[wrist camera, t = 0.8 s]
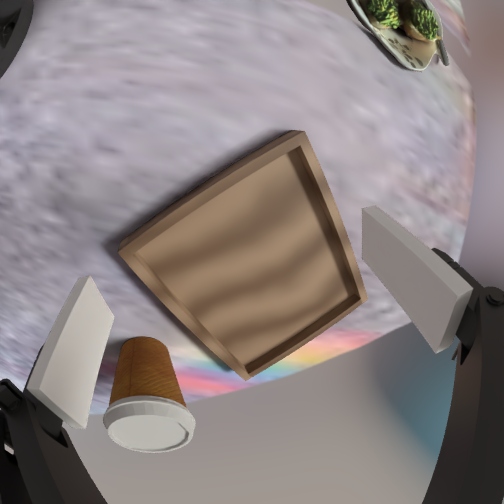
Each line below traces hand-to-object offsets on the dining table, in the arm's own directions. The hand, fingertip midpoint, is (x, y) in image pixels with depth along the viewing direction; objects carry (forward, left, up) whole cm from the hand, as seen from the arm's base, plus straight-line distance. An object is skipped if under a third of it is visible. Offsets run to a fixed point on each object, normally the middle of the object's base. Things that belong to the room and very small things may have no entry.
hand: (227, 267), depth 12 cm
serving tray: (+12, +2, -15) cm, 19 cm away
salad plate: (-10, +35, -16) cm, 39 cm away
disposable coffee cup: (+13, -16, -15) cm, 26 cm away
